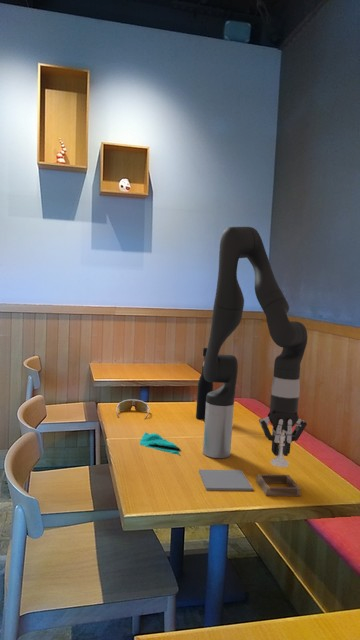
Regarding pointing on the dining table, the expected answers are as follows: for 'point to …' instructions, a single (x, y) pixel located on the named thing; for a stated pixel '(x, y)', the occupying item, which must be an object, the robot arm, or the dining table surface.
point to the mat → (225, 480)
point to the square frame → (278, 491)
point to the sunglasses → (137, 404)
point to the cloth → (158, 443)
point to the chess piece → (280, 453)
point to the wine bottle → (202, 393)
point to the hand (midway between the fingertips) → (280, 454)
